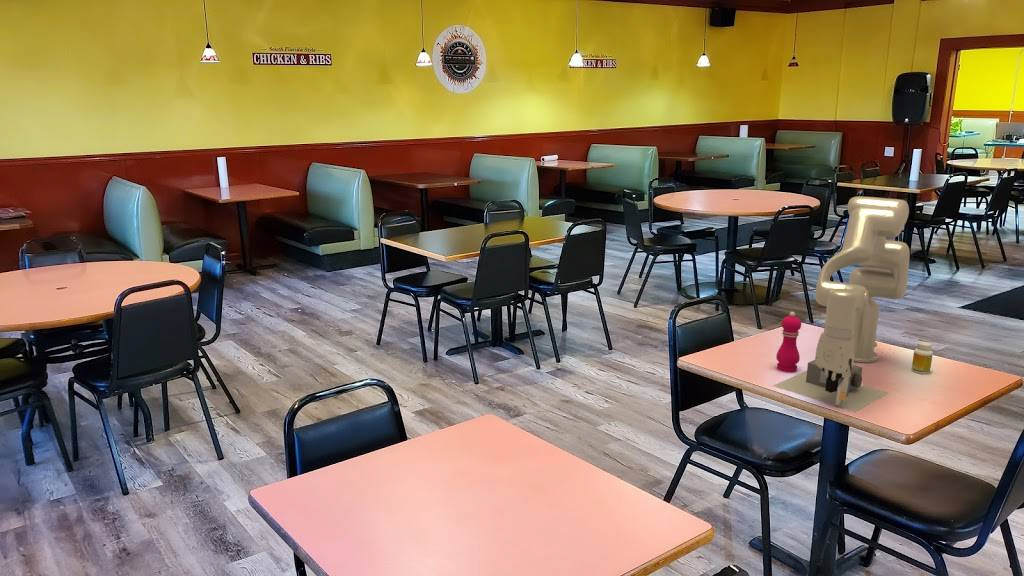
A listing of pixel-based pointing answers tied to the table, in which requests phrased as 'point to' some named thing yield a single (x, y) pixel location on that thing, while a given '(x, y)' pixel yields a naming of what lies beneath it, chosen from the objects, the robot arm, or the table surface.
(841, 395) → the side door
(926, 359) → the supplement bottle
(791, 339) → the pepper mill
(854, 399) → the mat
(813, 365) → the camera body
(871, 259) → the robot arm
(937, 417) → the table surface
